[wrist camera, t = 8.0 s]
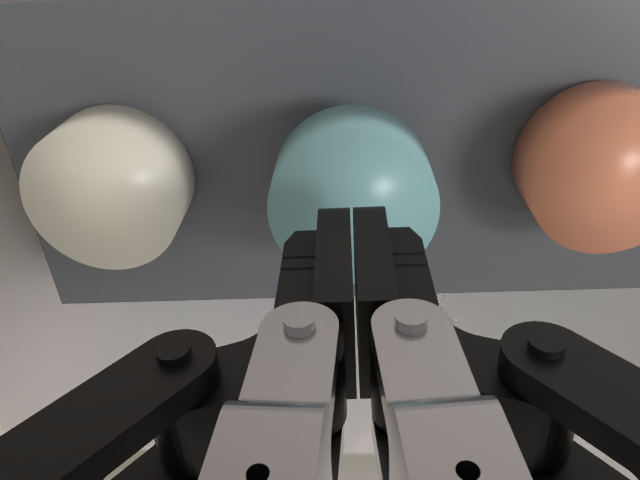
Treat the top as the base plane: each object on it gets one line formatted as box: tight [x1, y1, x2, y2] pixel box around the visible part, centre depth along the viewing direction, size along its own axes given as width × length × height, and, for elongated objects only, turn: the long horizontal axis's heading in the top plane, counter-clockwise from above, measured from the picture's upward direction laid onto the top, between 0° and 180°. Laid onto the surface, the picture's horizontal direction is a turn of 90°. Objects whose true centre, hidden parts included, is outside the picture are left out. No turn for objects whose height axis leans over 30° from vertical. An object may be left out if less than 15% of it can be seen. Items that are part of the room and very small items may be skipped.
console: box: [0, 0, 640, 304], centre depth 19 cm, size 21×10×3 cm, turn 93°
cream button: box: [19, 104, 195, 270], centre depth 17 cm, size 4×4×2 cm
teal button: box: [267, 104, 440, 284], centre depth 15 cm, size 4×4×2 cm
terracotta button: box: [512, 80, 640, 254], centre depth 16 cm, size 4×4×2 cm
